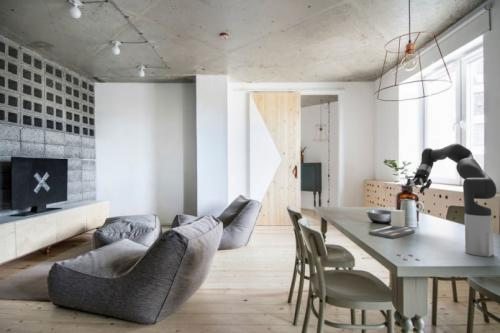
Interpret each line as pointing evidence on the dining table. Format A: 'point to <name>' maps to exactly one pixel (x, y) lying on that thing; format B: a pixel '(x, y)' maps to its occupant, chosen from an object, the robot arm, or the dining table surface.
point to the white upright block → (397, 219)
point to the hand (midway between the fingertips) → (414, 192)
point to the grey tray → (391, 232)
